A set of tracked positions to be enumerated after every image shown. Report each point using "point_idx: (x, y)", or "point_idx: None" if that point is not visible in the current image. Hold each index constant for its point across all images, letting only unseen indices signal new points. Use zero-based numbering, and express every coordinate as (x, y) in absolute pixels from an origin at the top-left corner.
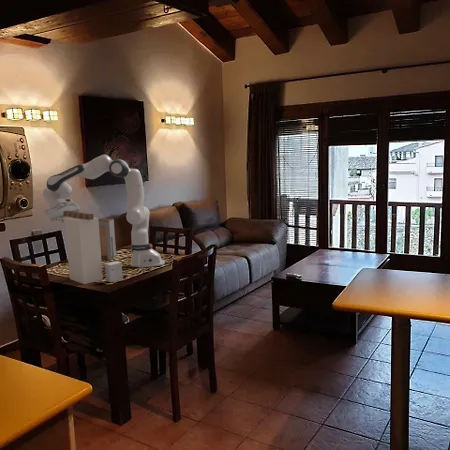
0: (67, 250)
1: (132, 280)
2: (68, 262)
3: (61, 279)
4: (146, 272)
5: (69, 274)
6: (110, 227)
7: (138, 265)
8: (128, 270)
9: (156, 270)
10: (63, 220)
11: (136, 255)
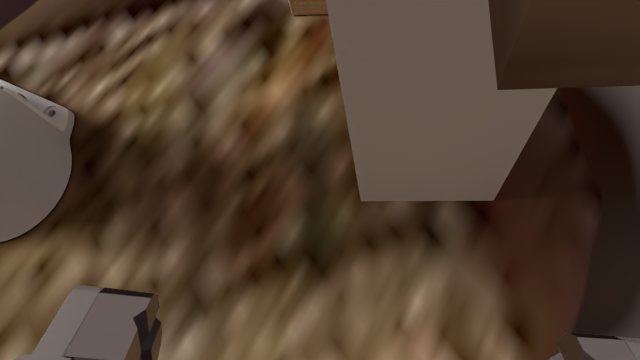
0: (549, 99)
1: None
2: (519, 152)
3: (541, 235)
4: (135, 15)
5: (499, 188)
6: None
7: (62, 128)
8: (150, 115)
9: (81, 13)
10: (573, 335)
11: (13, 115)
